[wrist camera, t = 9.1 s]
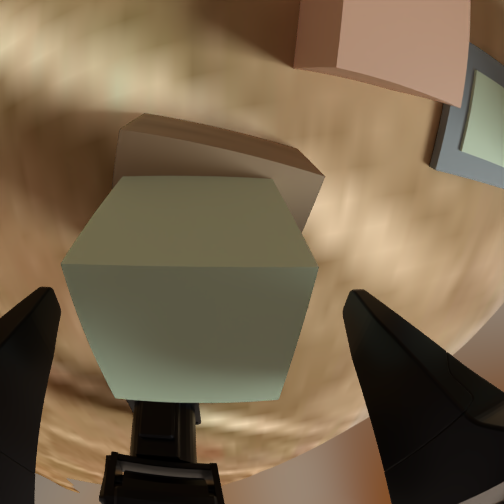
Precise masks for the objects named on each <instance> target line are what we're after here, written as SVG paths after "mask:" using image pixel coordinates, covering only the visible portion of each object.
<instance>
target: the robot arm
mask: <svg viewBox="0 0 504 504" xmlns="http://www.w3.org/2000/svg"><path fill="white" fill-rule="evenodd" d="M60 316H61V309H60V305H59V303H58V300H57V298H56V295H55V293H54V290H53V289H52V288H51V287H39V288H38V289H37V290H35V291H34V292H33V293H31V294H30V295H29V296H27V297H26V298H25V299H24V300H22V301H21V302H20V303H18V304H17V305H16V306H15V307H13V308H12V309H11V310H10V311H8V312H7V313H6V314H5V315H4V316H2V317H1V318H0V504H34V490H35V467H36V455H37V445H38V436H39V428H40V422H41V415H42V409H43V403H44V398H45V393H46V388H47V383H48V378H49V374H50V369H51V365H52V361H53V356H54V350H55V344H56V338H57V332H58V326H59V321H60ZM343 319H344V324H345V328H346V333H347V337H348V342H349V347H350V352H351V356H352V360H353V363H354V367H355V370H356V373H357V376H358V379H359V383H360V386H361V389H362V392H363V396H364V399H365V402H366V406H367V409H368V413H369V416H370V419H371V423H372V427H373V430H374V434H375V438H376V441H377V445H378V449H379V453H380V456H381V460H382V464H383V468H384V471H385V472H384V473H385V477H386V481H387V486H388V490H389V494H390V498H391V503H392V504H504V392H503V391H501V390H500V389H498V388H497V387H495V386H494V385H492V384H491V383H489V382H488V381H486V380H485V379H483V378H482V377H480V376H479V375H478V374H476V373H474V372H473V371H472V370H470V369H469V368H467V367H466V366H465V365H463V364H462V363H461V362H460V361H458V360H457V359H456V358H454V357H453V356H452V355H451V354H449V353H448V352H447V353H446V351H445V350H444V349H443V348H441V347H440V346H439V345H438V344H436V343H435V342H434V341H432V340H431V339H430V338H429V337H427V336H426V335H425V334H423V333H422V332H421V331H419V330H418V329H417V328H415V327H414V326H413V325H411V324H410V323H409V322H407V321H406V320H405V319H403V318H402V317H401V316H399V315H398V314H397V313H395V312H394V311H393V310H391V309H390V308H389V307H387V306H386V305H385V304H383V303H382V302H380V301H379V300H378V299H376V298H375V297H374V296H372V295H371V294H370V293H368V292H367V291H365V290H363V289H355V290H351V291H350V293H349V295H348V298H347V300H346V303H345V306H344V308H343ZM126 400H127V402H128V404H129V406H130V408H131V409H132V411H133V423H132V434H131V446H130V456H129V455H123V454H118V452H113V451H112V452H111V455H106V463H105V472H104V477H103V482H102V486H101V490H100V495H99V501H100V502H101V503H102V504H224V499H223V494H222V488H221V483H220V478H219V473H218V467H217V463H210V464H202V463H197V456H196V428H195V425H198V424H201V417H200V409H199V403H177V402H155V401H140V400H128V399H126ZM122 472H124V475H122Z"/></svg>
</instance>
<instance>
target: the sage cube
mask: <svg viewBox="0 0 504 504" xmlns="http://www.w3.org/2000/svg"><path fill="white" fill-rule="evenodd" d="M61 266H62V270H63V273H64V276H65V280H66V283H67V286H68V289H69V292H70V295H71V298H72V301H73V304H74V306H75V309H76V312H77V315H78V317H79V320H80V322H81V325H82V327H83V330H84V332H85V335H86V337H87V340H88V342H89V345H90V347H91V349H92V351H93V354H94V356H95V358H96V360H97V363H98V365H99V367H100V369H101V371H102V373H103V375H104V377H105V379H106V381H107V383H108V385H109V387H110V389H111V391H112V393H113V395H114V397H115V398H118V399H128V400H140V401H155V402H177V403H229V402H252V401H267V400H278V399H279V397H280V394H281V391H282V388H283V385H284V382H285V379H286V376H287V373H288V370H289V367H290V364H291V361H292V358H293V354H294V351H295V348H296V345H297V342H298V338H299V335H300V332H301V329H302V325H303V322H304V319H305V315H306V312H307V308H308V305H309V301H310V298H311V294H312V290H313V287H314V283H315V280H316V276H317V272H318V268H319V267H318V265H317V263H316V261H315V259H314V257H313V255H312V253H311V251H310V249H309V247H308V245H307V243H306V241H305V239H304V237H303V235H302V233H301V231H300V229H299V228H298V226H297V224H296V222H295V220H294V218H293V216H292V214H291V212H290V211H289V209H288V207H287V205H286V203H285V201H284V199H283V198H282V196H281V194H280V192H279V190H278V188H277V186H276V185H275V183H274V181H273V179H266V178H247V177H221V176H123V177H122V178H121V179H120V180H119V182H118V183H117V184H116V185H115V187H114V188H113V189H112V190H111V192H110V193H109V194H108V196H107V197H106V198H105V200H104V201H103V202H102V204H101V205H100V206H99V208H98V209H97V210H96V212H95V213H94V214H93V216H92V217H91V219H90V220H89V222H88V223H87V224H86V226H85V227H84V229H83V230H82V232H81V233H80V235H79V236H78V238H77V239H76V241H75V242H74V244H73V245H72V247H71V248H70V250H69V251H68V253H67V254H66V256H65V258H64V259H63V261H62V262H61Z"/></svg>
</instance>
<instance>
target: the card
mask: <svg viewBox="0 0 504 504" xmlns="http://www.w3.org/2000/svg"><path fill="white" fill-rule="evenodd" d="M430 167H431V168H433V169H435V170H437V171H441V172H445V173H450V174H453V175H457V176H461V177H465V178H469V179H472V180H476V181H479V182H483V183H486V184H489V185H493V186H496V187H499V188H502V189H504V66H503V65H502V64H501V63H499V62H498V61H497V60H495V59H494V58H493V57H491V56H490V55H488V54H487V53H485V52H484V51H482V50H481V49H479V48H478V47H476V46H475V45H473V44H472V43H470V42H469V50H468V61H467V70H466V77H465V85H464V91H463V97H462V103H461V108H458V107H455V106H452V105H448V104H445V103H444V104H443V109H442V115H441V120H440V124H439V129H438V133H437V138H436V142H435V146H434V150H433V154H432V158H431V162H430Z"/></svg>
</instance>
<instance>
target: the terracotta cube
mask: <svg viewBox="0 0 504 504" xmlns="http://www.w3.org/2000/svg"><path fill="white" fill-rule="evenodd" d="M469 36H470V0H300V10H299V19H298V29H297V38H296V47H295V56H294V65H293V68H295V69H301V70H308V71H313V72H319V73H324V74H329V75H334V76H339V77H344V78H348V79H352V80H356V81H360V82H364V83H368V84H372V85H376V86H379V87H383V88H386V89H390V90H393V91H398V92H403V93H407V94H411V95H415V96H419V97H423V98H427V99H431V100H435V101H438V102H442V103H445V104H448V105H452V106H455V107H458V108H461V103H462V97H463V91H464V85H465V77H466V70H467V61H468V50H469Z"/></svg>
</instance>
